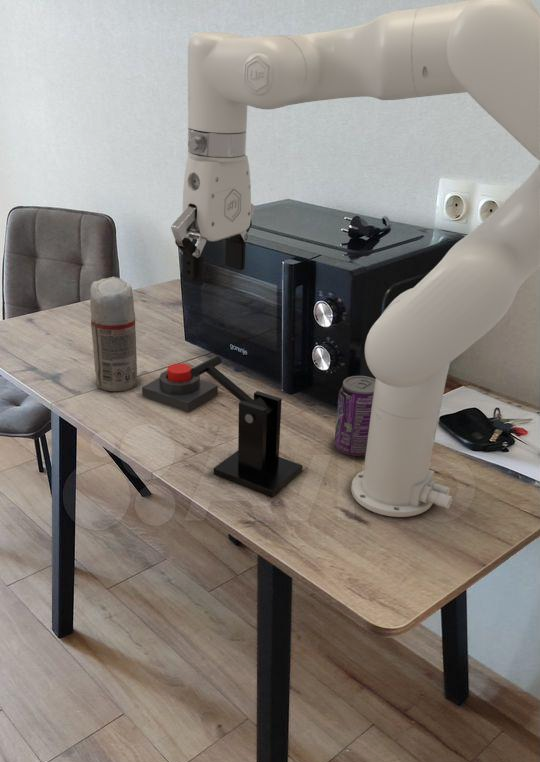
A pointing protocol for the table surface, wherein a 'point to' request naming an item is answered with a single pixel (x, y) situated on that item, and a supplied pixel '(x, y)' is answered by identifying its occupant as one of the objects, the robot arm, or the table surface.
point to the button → (179, 372)
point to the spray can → (113, 334)
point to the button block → (180, 392)
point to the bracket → (259, 450)
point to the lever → (227, 382)
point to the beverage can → (354, 415)
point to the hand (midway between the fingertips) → (214, 275)
